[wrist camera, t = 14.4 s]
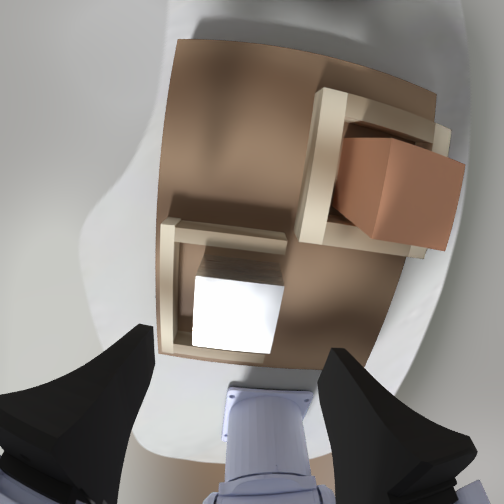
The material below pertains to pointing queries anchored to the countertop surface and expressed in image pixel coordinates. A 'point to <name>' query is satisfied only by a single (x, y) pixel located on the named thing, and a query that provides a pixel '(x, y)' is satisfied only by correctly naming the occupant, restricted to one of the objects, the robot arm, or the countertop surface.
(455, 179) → the terracotta rectangular block
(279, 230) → the wooden compartment tray
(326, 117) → the collar
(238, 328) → the block
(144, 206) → the countertop surface
